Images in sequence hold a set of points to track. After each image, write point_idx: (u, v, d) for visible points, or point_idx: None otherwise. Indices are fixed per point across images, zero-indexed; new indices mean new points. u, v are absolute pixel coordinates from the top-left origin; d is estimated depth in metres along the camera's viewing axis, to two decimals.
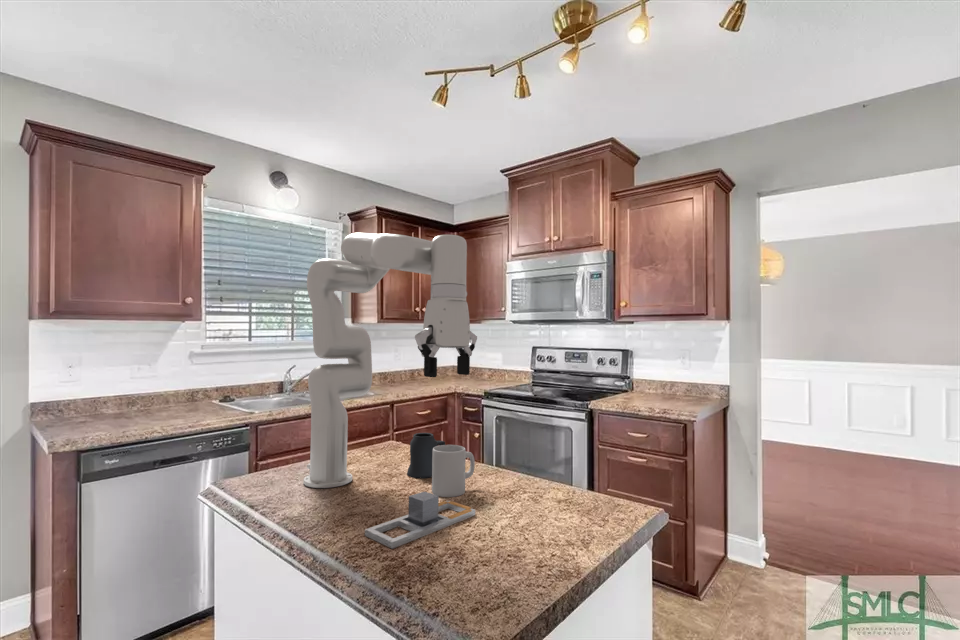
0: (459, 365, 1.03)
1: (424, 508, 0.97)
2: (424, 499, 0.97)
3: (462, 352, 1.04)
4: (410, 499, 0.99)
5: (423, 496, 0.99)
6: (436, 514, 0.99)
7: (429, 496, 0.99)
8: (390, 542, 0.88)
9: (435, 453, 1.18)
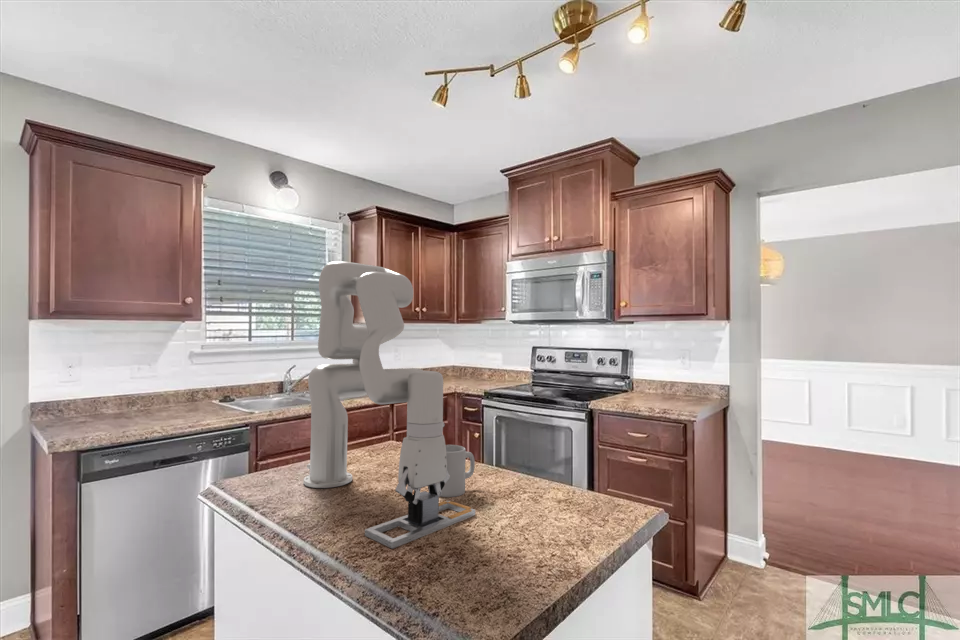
0: None
1: (425, 508, 0.97)
2: (424, 499, 0.97)
3: (432, 490, 1.02)
4: None
5: (423, 496, 0.99)
6: (436, 514, 0.99)
7: (429, 496, 0.99)
8: (390, 542, 0.88)
9: None
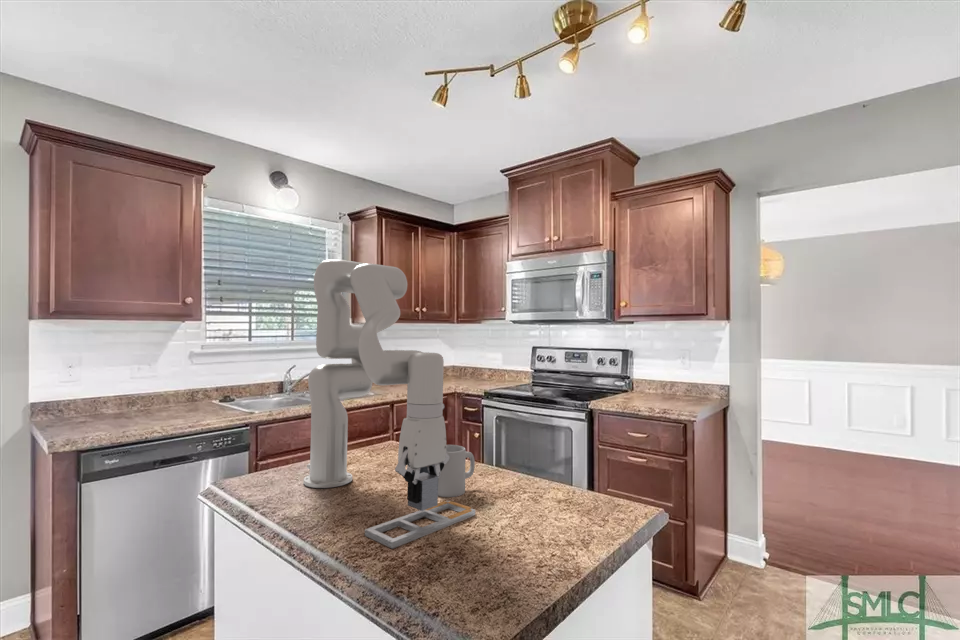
0: None
1: (424, 488, 0.97)
2: (424, 479, 0.98)
3: (431, 471, 1.02)
4: None
5: (423, 477, 0.99)
6: (435, 494, 0.99)
7: (429, 476, 0.99)
8: (390, 542, 0.88)
9: None
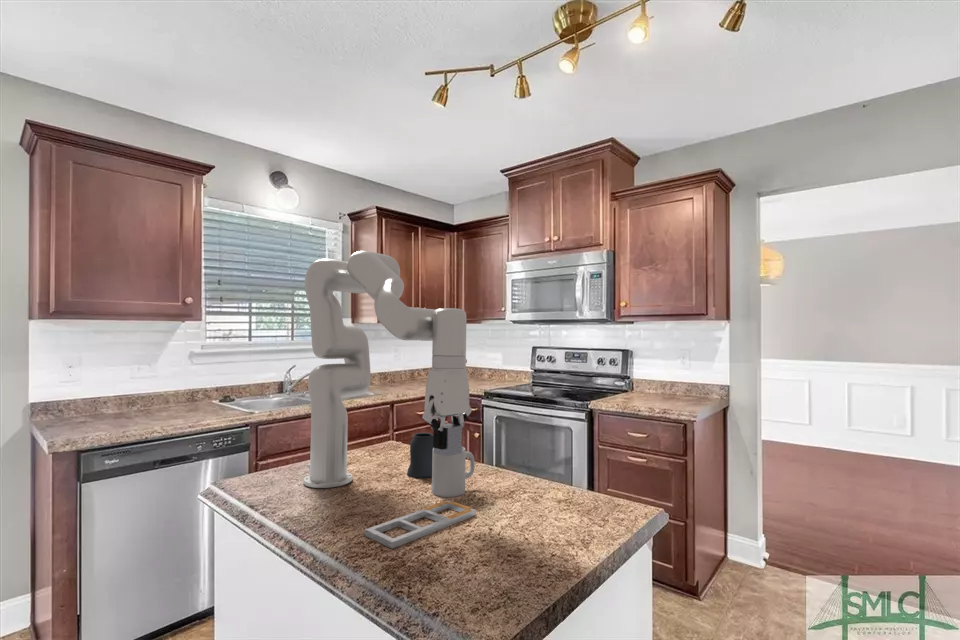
0: None
1: (449, 435, 1.02)
2: (449, 427, 1.03)
3: (455, 421, 1.07)
4: None
5: (448, 426, 1.05)
6: (459, 442, 1.05)
7: (453, 425, 1.05)
8: (390, 542, 0.88)
9: None
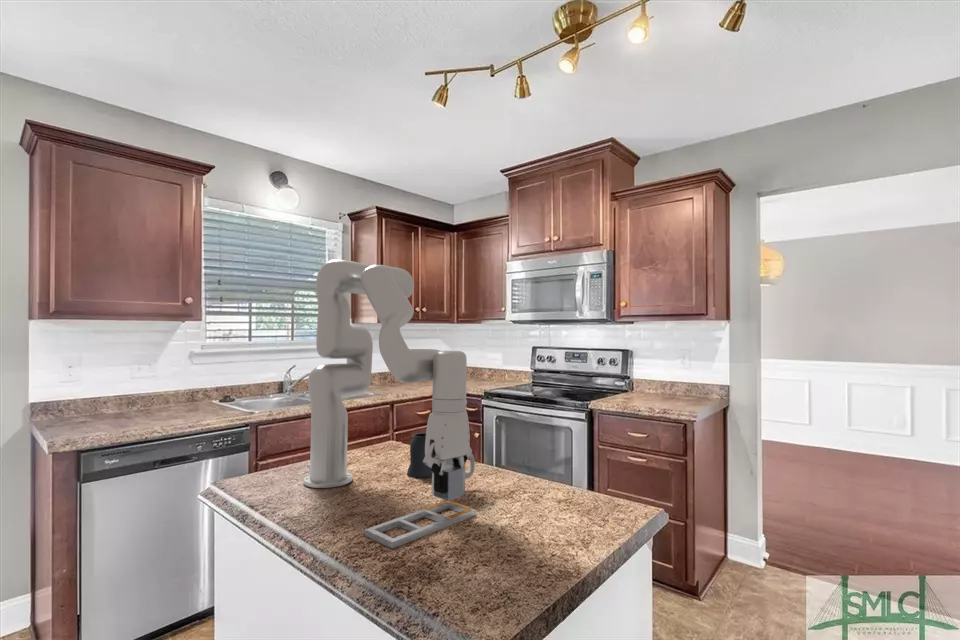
0: None
1: (450, 479, 1.02)
2: (449, 471, 1.03)
3: (456, 463, 1.07)
4: None
5: (448, 469, 1.04)
6: (460, 485, 1.04)
7: (454, 468, 1.05)
8: (390, 542, 0.88)
9: None
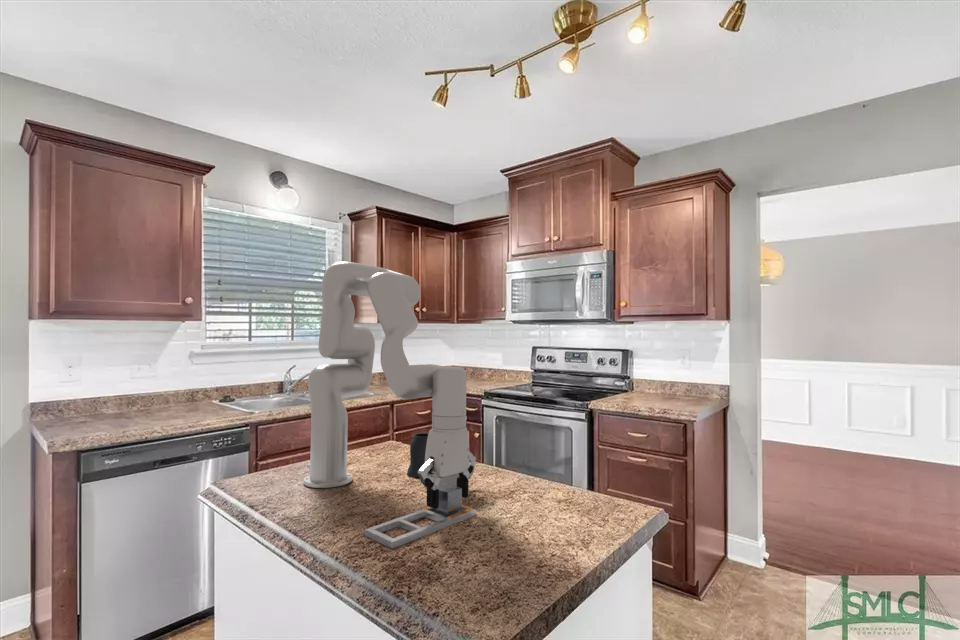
0: None
1: (449, 499, 1.02)
2: (449, 491, 1.03)
3: (461, 474, 1.08)
4: None
5: (448, 488, 1.04)
6: (459, 505, 1.04)
7: (453, 488, 1.04)
8: (390, 542, 0.88)
9: None
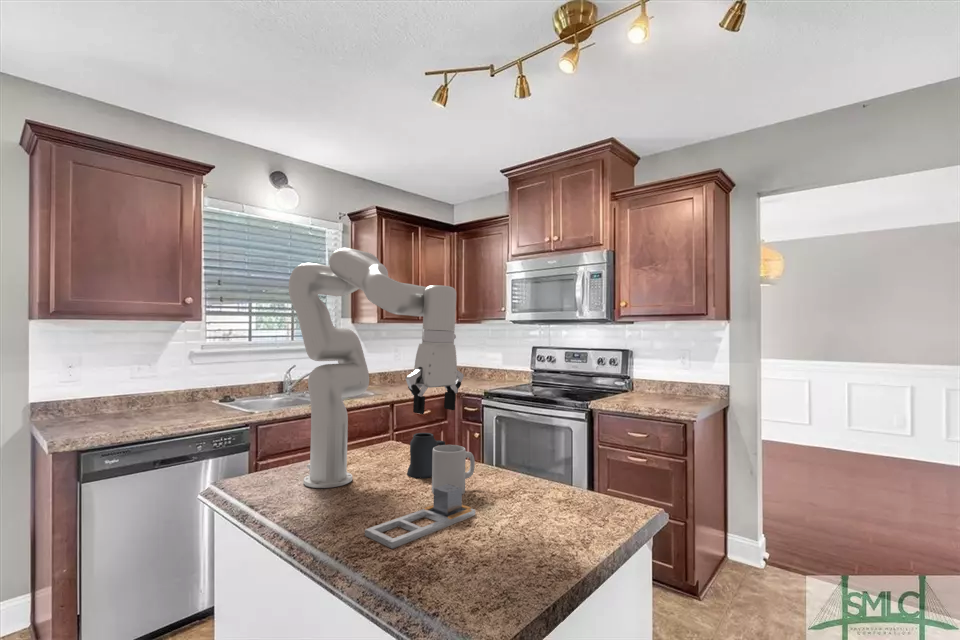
0: (446, 401, 1.15)
1: (449, 499, 1.02)
2: (449, 491, 1.03)
3: (449, 389, 1.15)
4: (435, 491, 1.04)
5: (448, 488, 1.04)
6: (459, 505, 1.04)
7: (453, 488, 1.04)
8: (390, 542, 0.88)
9: (435, 453, 1.18)
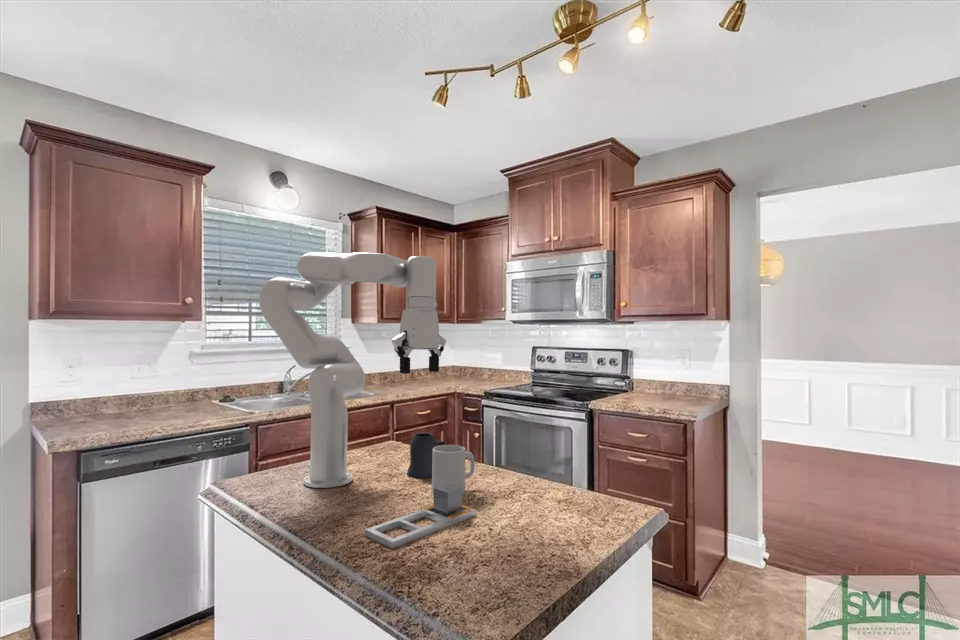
0: (430, 364, 1.24)
1: (449, 499, 1.02)
2: (449, 491, 1.03)
3: (433, 353, 1.24)
4: (435, 491, 1.04)
5: (448, 488, 1.04)
6: (459, 505, 1.04)
7: (453, 488, 1.04)
8: (390, 542, 0.88)
9: (435, 453, 1.18)
